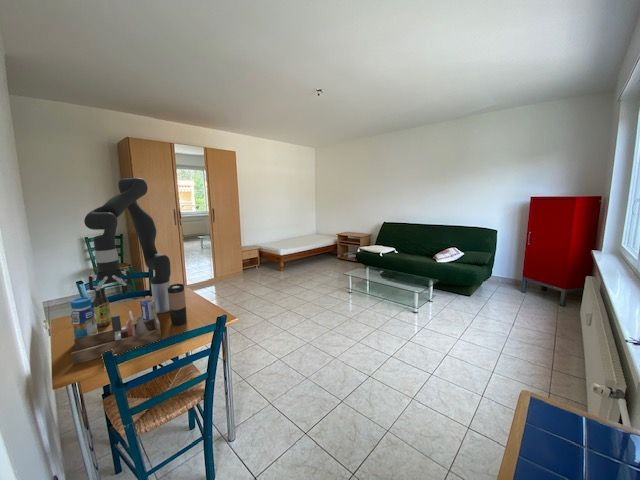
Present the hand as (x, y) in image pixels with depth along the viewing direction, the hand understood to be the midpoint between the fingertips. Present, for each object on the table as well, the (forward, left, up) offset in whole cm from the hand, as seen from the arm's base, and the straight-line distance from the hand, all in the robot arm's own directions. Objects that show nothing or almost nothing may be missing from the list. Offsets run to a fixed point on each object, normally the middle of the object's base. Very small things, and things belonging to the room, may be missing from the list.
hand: (112, 295), depth 116 cm
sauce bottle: (+6, -28, -23) cm, 37 cm away
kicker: (-2, 0, -23) cm, 23 cm away
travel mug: (-25, -6, -23) cm, 35 cm away
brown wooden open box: (0, 0, -23) cm, 23 cm away
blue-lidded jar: (+12, -13, -23) cm, 29 cm away
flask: (-8, -1, -23) cm, 25 cm away
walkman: (-13, -16, -23) cm, 31 cm away
